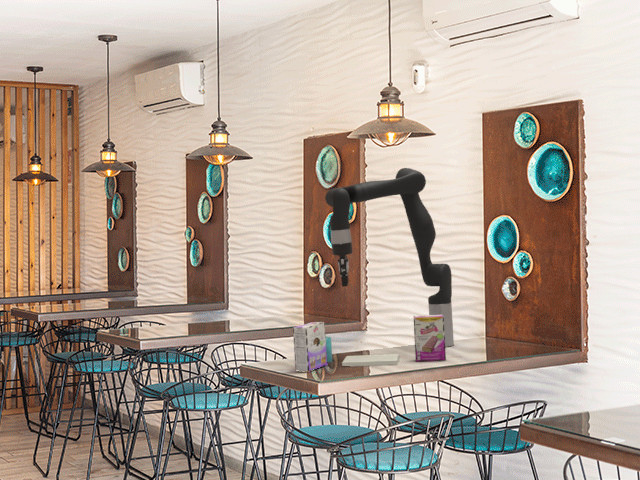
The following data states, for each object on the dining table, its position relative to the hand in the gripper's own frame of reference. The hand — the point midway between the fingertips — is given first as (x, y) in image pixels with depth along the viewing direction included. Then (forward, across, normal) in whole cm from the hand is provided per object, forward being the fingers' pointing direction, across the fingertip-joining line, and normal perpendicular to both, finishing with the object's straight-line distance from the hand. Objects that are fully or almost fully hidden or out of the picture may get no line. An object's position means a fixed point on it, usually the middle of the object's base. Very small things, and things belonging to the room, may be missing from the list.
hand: (345, 284), depth 308 cm
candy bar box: (+30, +6, +29) cm, 42 cm away
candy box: (+29, +11, -14) cm, 34 cm away
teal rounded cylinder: (+29, -4, -11) cm, 32 cm away
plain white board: (+29, +4, +7) cm, 30 cm away
